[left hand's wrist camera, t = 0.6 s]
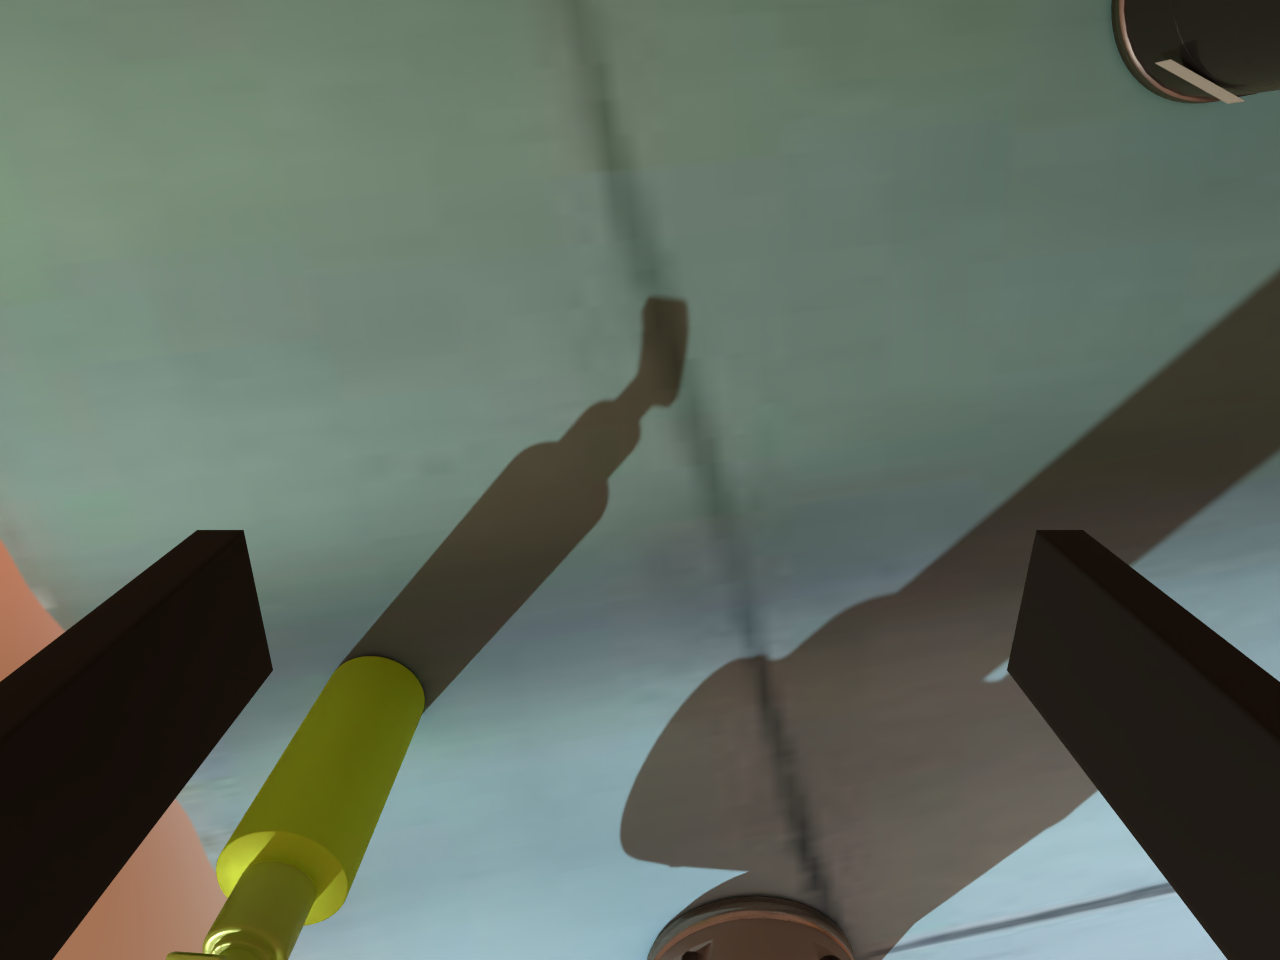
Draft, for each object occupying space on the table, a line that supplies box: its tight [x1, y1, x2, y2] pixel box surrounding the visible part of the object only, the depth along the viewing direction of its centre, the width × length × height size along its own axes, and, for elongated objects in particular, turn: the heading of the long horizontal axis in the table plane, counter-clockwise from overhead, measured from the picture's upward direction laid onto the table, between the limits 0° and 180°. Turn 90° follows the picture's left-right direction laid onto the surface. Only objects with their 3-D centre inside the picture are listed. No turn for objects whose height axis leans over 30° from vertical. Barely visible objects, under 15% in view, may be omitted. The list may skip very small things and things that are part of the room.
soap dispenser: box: [166, 656, 425, 960], centre depth 37 cm, size 6×7×20 cm
